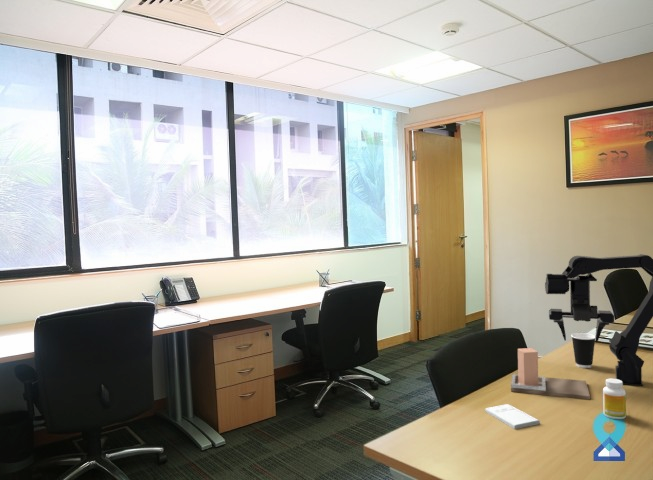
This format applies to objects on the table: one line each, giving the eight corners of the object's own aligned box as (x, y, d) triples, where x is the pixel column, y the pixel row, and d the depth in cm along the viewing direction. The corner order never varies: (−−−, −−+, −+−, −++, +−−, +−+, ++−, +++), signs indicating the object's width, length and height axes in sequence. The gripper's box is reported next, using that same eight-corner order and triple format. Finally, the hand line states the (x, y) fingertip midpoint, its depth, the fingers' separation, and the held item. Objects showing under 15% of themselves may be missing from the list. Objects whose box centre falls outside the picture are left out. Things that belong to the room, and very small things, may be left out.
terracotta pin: (532, 381, 158) (531, 348, 157) (538, 386, 153) (537, 351, 153) (518, 381, 158) (517, 348, 157) (524, 386, 153) (523, 352, 153)
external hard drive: (514, 431, 127) (485, 413, 139) (539, 425, 129) (508, 408, 141) (514, 425, 127) (484, 407, 138) (539, 419, 129) (508, 403, 141)
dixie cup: (600, 369, 170) (600, 338, 169) (577, 369, 170) (576, 339, 170) (589, 362, 178) (589, 332, 177) (567, 362, 178) (567, 333, 178)
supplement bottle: (629, 420, 129) (629, 384, 129) (607, 419, 130) (606, 383, 130) (621, 412, 134) (621, 377, 134) (600, 411, 136) (599, 377, 135)
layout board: (585, 383, 157) (585, 377, 157) (590, 399, 144) (589, 392, 144) (513, 377, 166) (512, 370, 165) (511, 391, 153) (510, 384, 153)
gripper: (549, 297, 155) (550, 345, 156) (616, 299, 148) (616, 350, 149) (548, 292, 165) (549, 337, 166) (611, 293, 158) (611, 340, 159)
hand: (580, 341), depth 160 cm, fingers open, 9 cm apart
